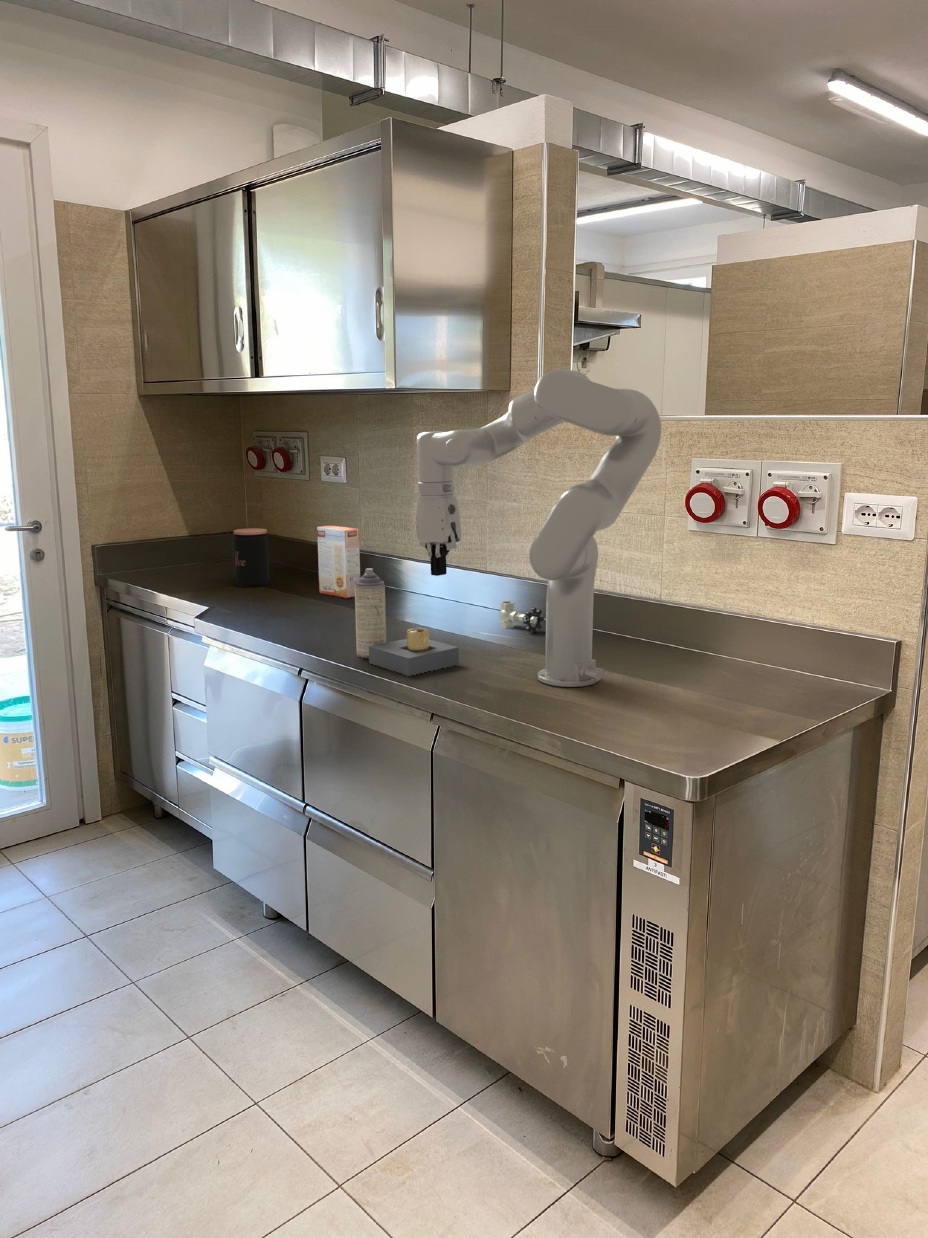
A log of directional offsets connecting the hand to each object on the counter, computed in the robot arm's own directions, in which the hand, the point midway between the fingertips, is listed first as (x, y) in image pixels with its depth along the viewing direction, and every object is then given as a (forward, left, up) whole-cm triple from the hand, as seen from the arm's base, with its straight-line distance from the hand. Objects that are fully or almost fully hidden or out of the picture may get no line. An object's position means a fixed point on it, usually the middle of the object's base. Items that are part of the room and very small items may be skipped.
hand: (438, 574), depth 202 cm
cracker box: (+82, -29, -20) cm, 89 cm away
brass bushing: (0, +6, -20) cm, 21 cm away
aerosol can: (+15, +8, -20) cm, 26 cm away
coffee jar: (+116, -18, -20) cm, 119 cm away
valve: (+11, -36, -20) cm, 42 cm away
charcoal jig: (+2, +6, -20) cm, 21 cm away
